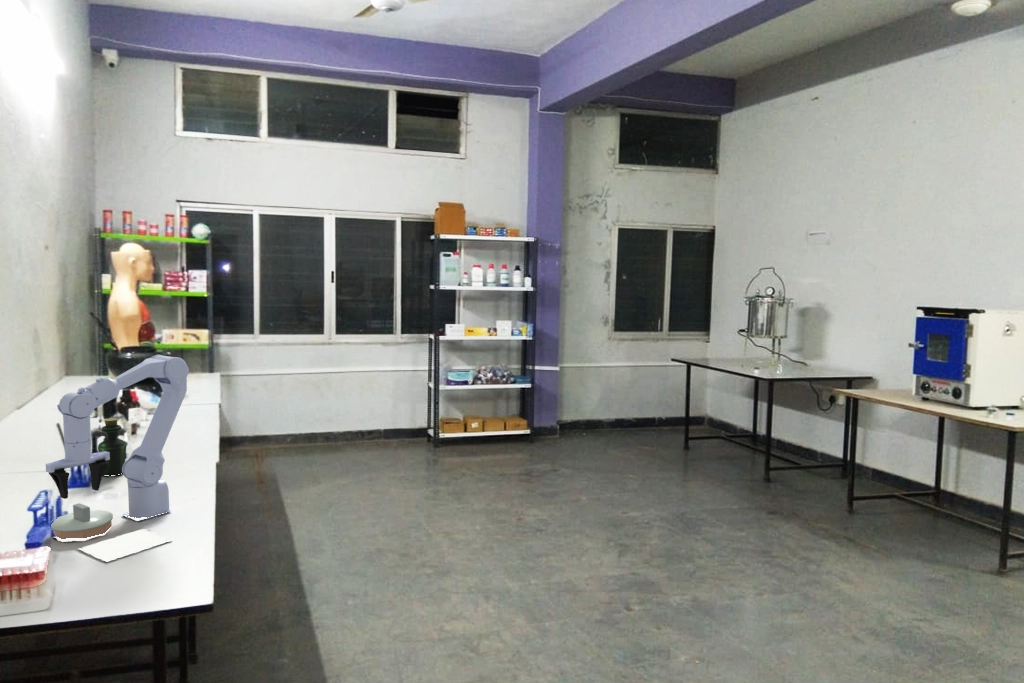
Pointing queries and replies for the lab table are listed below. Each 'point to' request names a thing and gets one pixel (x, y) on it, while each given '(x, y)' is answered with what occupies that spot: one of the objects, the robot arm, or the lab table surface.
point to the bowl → (83, 532)
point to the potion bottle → (113, 447)
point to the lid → (81, 519)
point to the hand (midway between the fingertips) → (80, 493)
